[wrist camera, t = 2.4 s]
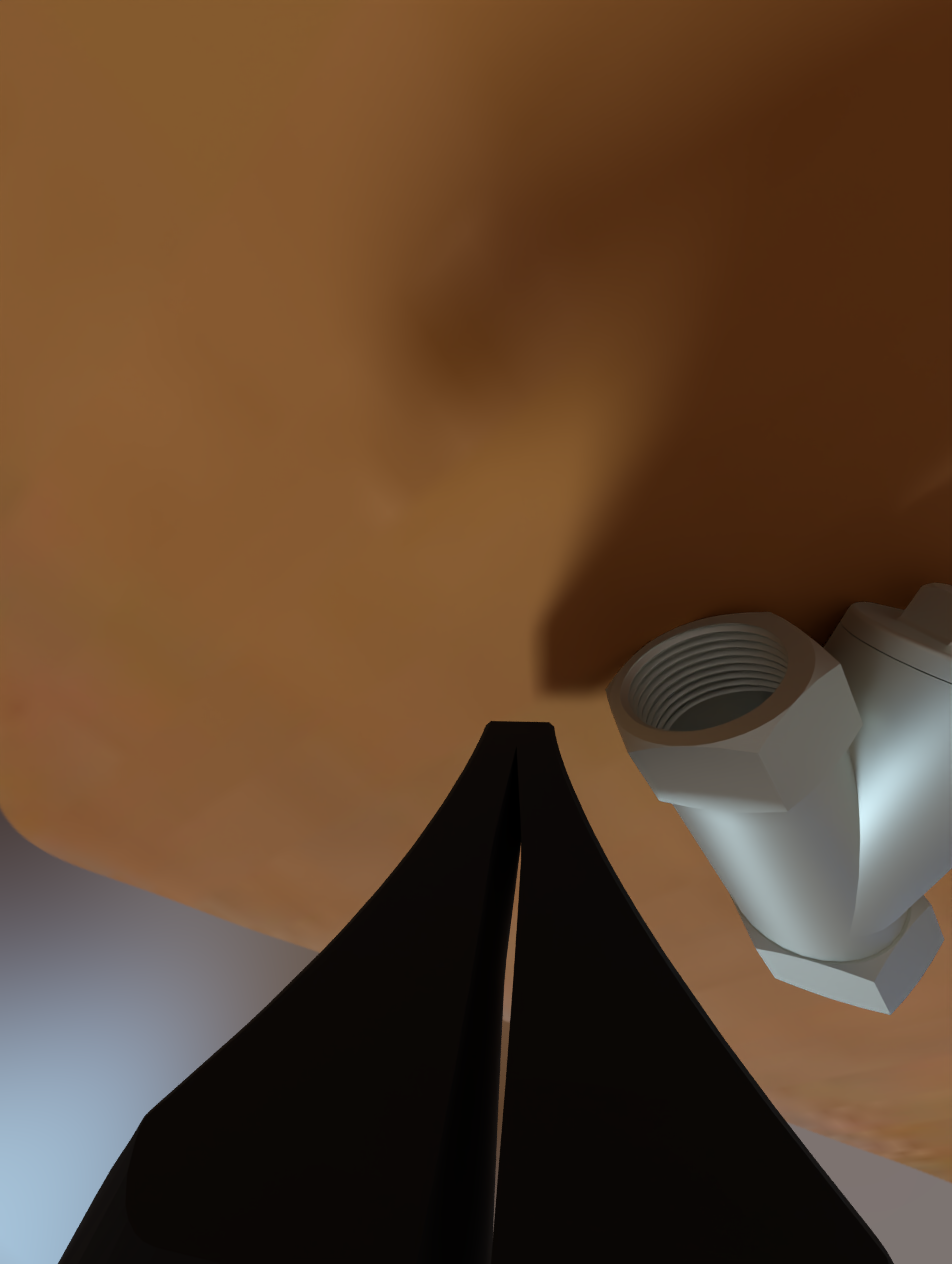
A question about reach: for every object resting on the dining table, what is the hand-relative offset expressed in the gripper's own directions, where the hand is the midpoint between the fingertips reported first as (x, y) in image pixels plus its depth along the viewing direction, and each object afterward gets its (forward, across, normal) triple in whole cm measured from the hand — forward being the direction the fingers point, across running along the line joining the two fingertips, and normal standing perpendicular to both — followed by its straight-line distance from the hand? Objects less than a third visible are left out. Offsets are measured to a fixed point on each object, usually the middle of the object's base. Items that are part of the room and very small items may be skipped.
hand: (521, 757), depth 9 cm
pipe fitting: (+2, -7, 0) cm, 7 cm away
